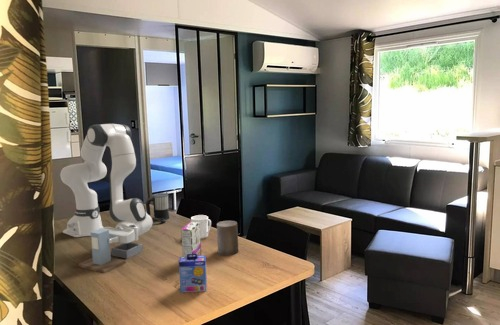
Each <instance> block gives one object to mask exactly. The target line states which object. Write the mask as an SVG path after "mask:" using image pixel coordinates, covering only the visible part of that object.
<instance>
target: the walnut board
mask: <svg viewBox="0 0 500 325" xmlns="http://www.w3.org/2000/svg"><path fill="white" fill-rule="evenodd" d="M126 263H127V262H126V260H125V259H123V258H122V259H120V258H118V257H117V258H116V257H112V256H111V261H109V262H107V263H105V264H103V265H98V264H94V263H93V257H91V258H88V259H87V260H85V261H82V262H79V263H78V268H83V269H88V270H91V271H95V272H99V273H102V274H105V273H107V272H109V271H111V270H114V269H115V268H116V269H117V268H118V267H120V266H123V265H124V264H126Z"/></svg>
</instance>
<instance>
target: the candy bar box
mask: <svg viewBox="0 0 500 325" xmlns="http://www.w3.org/2000/svg"><path fill="white" fill-rule="evenodd" d="M180 233H181V234H180V235H181V247H182V248H181V249H182V250H181V251H182V257H183V256H187V254H196V253H197V256H202V244H201V243H202V242H201V241H202V240H201V239H200V224H199V222H191V221H190V222H188V223H187V224H186V225H185V226H183V227H182V228H181V229H180ZM190 256H195V255H190Z"/></svg>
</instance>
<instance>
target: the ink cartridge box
mask: <svg viewBox="0 0 500 325" xmlns="http://www.w3.org/2000/svg"><path fill="white" fill-rule="evenodd" d="M190 255H195V256H190ZM206 258H207V257H206V255H202V254H201V256H197V253H196V254H187V256H183V255H182V256H180V257H179V260H178V272H179V292H180V293H194V292H195V293H197V292H198V293H199V292H207V290H208V279H207V276H208V275H207V259H206Z"/></svg>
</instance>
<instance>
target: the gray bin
mask: <svg viewBox="0 0 500 325" xmlns="http://www.w3.org/2000/svg"><path fill="white" fill-rule="evenodd" d="M142 252H144V250H143V244H142V243H137V242H130V243H120V244H119V245H118V244H117V245H116V246H114V247H111V257H112V256H114V257H117V258H122V259H127V260H128V259H130V258H131V257H134V256H136V255H138V254H140V253H142Z"/></svg>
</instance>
